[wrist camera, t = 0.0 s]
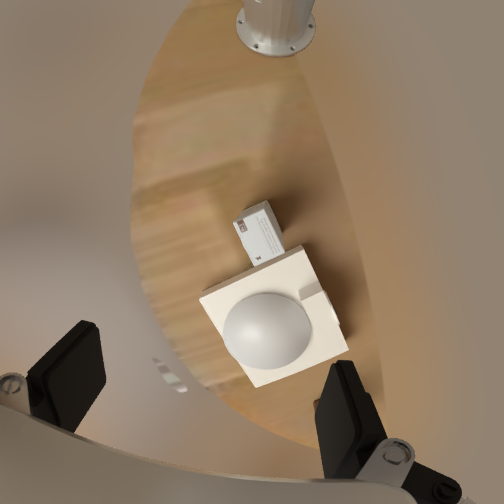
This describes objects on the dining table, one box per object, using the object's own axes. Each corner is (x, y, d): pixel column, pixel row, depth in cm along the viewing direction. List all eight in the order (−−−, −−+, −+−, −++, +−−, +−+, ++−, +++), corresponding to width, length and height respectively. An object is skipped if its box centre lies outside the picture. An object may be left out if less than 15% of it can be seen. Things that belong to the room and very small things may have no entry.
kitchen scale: (202, 291, 50) (192, 311, 43) (304, 242, 47) (311, 256, 40) (256, 377, 54) (255, 403, 47) (347, 339, 52) (357, 362, 44)
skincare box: (283, 233, 47) (289, 254, 35) (257, 245, 48) (255, 269, 36) (266, 197, 46) (267, 206, 34) (239, 209, 46) (231, 223, 35)
